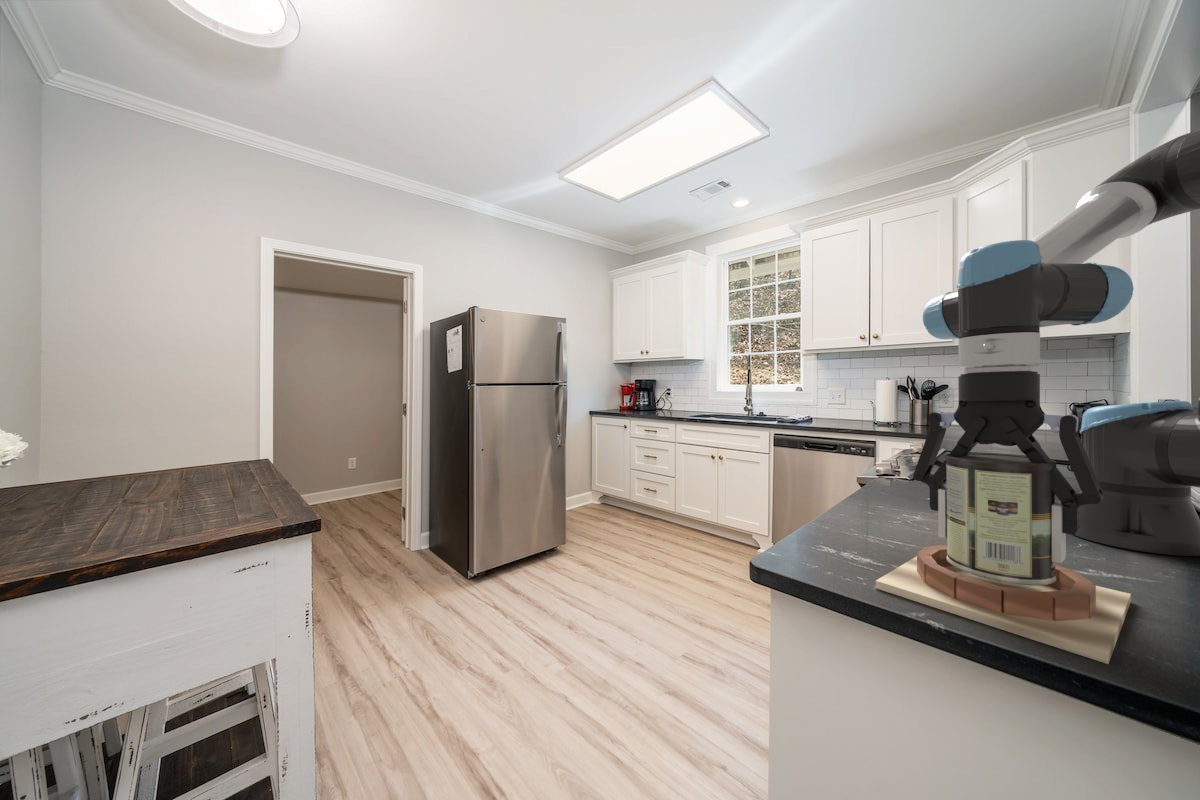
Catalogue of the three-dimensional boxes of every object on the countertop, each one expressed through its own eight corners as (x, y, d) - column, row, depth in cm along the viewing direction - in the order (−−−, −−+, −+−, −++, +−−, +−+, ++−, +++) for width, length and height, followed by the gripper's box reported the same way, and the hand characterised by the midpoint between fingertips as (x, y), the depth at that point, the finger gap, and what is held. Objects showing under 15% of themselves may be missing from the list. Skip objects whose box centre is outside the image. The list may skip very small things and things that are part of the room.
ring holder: (931, 553, 69) (931, 531, 69) (1130, 602, 52) (1130, 573, 52) (875, 588, 57) (875, 561, 57) (1108, 664, 41) (1108, 627, 41)
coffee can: (1014, 555, 59) (1014, 452, 58) (1082, 589, 49) (1082, 464, 48) (928, 551, 61) (928, 451, 60) (976, 582, 51) (976, 463, 50)
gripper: (883, 374, 61) (884, 530, 62) (1138, 364, 43) (1137, 586, 43) (905, 374, 66) (906, 520, 66) (1144, 366, 47) (1143, 568, 47)
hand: (997, 546), depth 55 cm, fingers closed on coffee can, 10 cm apart
